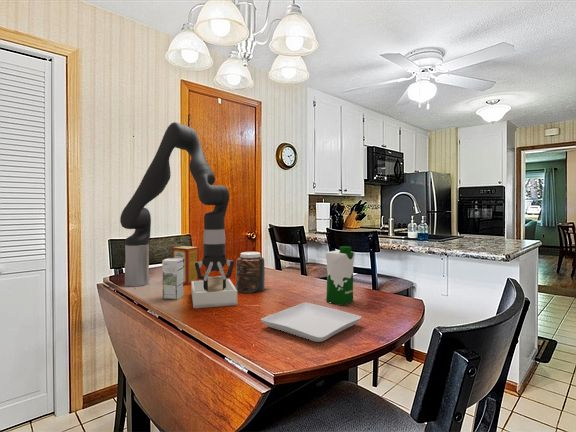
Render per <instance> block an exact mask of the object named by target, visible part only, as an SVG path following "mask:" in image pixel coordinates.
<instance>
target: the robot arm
mask: <svg viewBox="0 0 576 432" xmlns="http://www.w3.org/2000/svg"><path fill="white" fill-rule="evenodd" d="M175 148H176V149H180V150H182V151H186V152H187V153H188V155H189V156H190V161H189V171H190V174H191V175H192V178H193V179H194V181H195V183H196V189H197V196H198V200H199V201H200V203H202V204H203V205H205V206H214V209H213V210H212V211H209V212H206V213H205V214H204V217H203V239H202V240H203V241H202V242H203V245H202V246H203V257H202V260H199V262H195V267H196V271H197V275H198V278H199V280H200V281H203V288H204V290H206V291H208V280H207V279H208V277H210V276H209V275H210V273H211V272H214V271H215V272H219V273H220V276H221V277H222V278H223V290H224V288H226V279H230V278H231V277H232V274H233V270H234V266H235V261H234V260H233V259H227V257H226V240H227V239H226V233H225V226H226V225H225V218H226V213H227V211H228V210H227V209H228V206H229V202H230V192H229V189H228V187H226V186H224V185H221V184H220V185H218V184H215V182H216V177H215V176H216V175H215V174H214V172H213V171H212V168H211V167H210V165H209V162H208V161H207V159H206V157H205V154H204V151H203V147H202V144H201V142H200V138H199V135H198V133H197V131H196V130H195V129H194V128H192V127H190V126H187V125H185V124H182V123H179V122H176V121H175V122H174V121H173V122H172V123H170V124H169V125H168V127H167V128H166V130H165V132H164V134H163V136H162V139H161V142H160V144H159V147H158V149H157V151H156V153H155V155H154V158H153V159H152V161H151V163H150V165H149V166H148V168H147V170H146V171H145V174H144V175H143V177H142V179H141V181H140V183H139V185H138V187H137V189H136V190H135V192H134V193H133V195H132V197H131V198H130V200H129V201H128V202H127V204H126V206H125V207H124V208H123V210H122V211H121V214H120V219H119V221H120V225H121V226H122V228H123V229H126V230H134V232H133V233H132V234H131V235H130V236H128V237H126V238H125V240H124V241H125V249H124V250H125V262H124V286H125V287H141V286H142V287H143V286H146V285H149V283H150V268H149V267H150V262H149V261H150V259H149V258H150V253H149V252H150V251H149V249H150V247H149V245H150V244H149V243H150V241H149V240H150V238H151V230H152V229H151V226H152V216H151V212H150V210H149V209H148V208H147V207H146V206H147V204H149V203H150V202H152V201H153V200H155V199H156V198H157V197H158V196H160V194H162V193H163V192H164V190H165V189H166V187H167V185H168V184H169V181H170V179H171V177H172V175H171V167H170V166H171V164H170V158H171V156H172V155H171V154H172V152H173V151H174V149H175ZM226 264H227V266H228V268H227V273H226V274H225V271H224V267H225V265H226ZM202 265H203V266H204V267H205V270H204V271H205V272H204V274H203V275H202V272H201V269H200V268H202Z"/></svg>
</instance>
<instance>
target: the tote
mask: <svg viewBox="0 0 576 432" xmlns="http://www.w3.org/2000/svg"><path fill="white" fill-rule="evenodd" d="M190 285H191V286H190V287H191V289H190V290H191V299H192V301H191V302H192V307H193V309H194V308H195V309H203V308H205V309H206V308H216V307H227V306H228V307H230V306H238V291H237V289H236V286H235V285H234V284H233V281H232V280H231V279H230V278H227V279H226V288H224V290H223V291H216V292H207V291H206V290H204V288H203V280H199V281H191V284H190Z"/></svg>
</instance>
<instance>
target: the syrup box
mask: <svg viewBox="0 0 576 432" xmlns="http://www.w3.org/2000/svg"><path fill="white" fill-rule="evenodd" d="M161 263H162V265H161V267H162V271H161V272H162V299H163V300H179V299H180V298H182V297H183V296H184V285H183V258H173V257H167V258H165V259H163V260H162V262H161Z"/></svg>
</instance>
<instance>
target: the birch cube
mask: <svg viewBox="0 0 576 432" xmlns="http://www.w3.org/2000/svg"><path fill="white" fill-rule="evenodd" d="M207 280H208V291H207V292H216V291H223V278H222V276H221V275H219V276H218V275H216V276H208V279H207Z"/></svg>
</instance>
